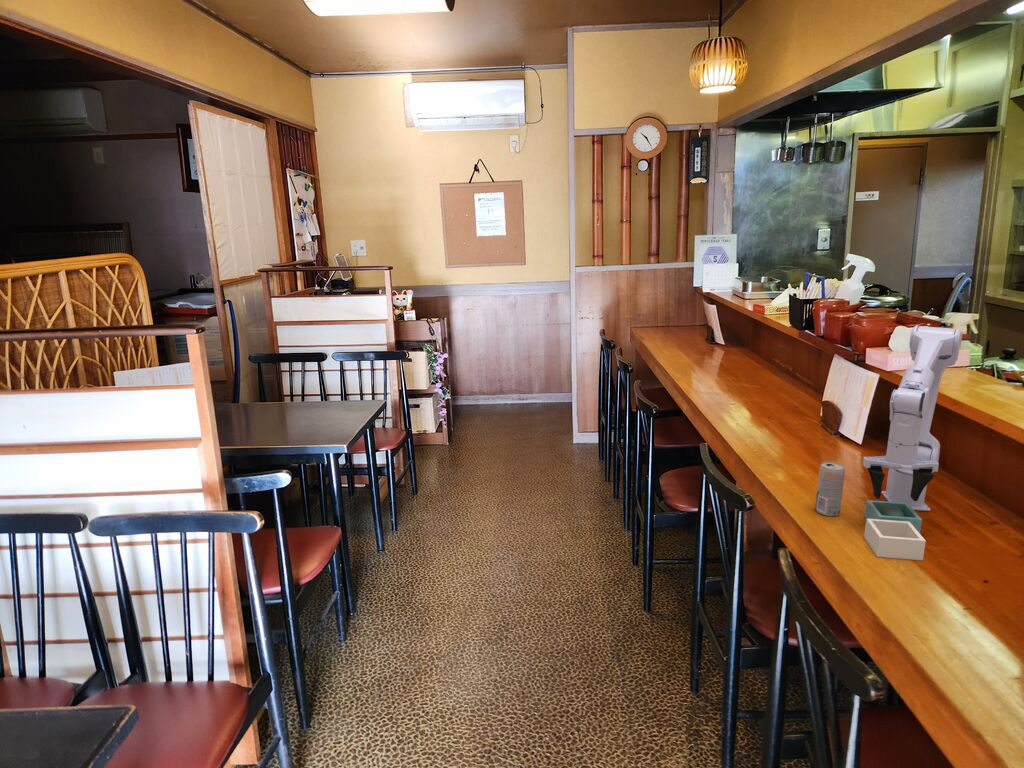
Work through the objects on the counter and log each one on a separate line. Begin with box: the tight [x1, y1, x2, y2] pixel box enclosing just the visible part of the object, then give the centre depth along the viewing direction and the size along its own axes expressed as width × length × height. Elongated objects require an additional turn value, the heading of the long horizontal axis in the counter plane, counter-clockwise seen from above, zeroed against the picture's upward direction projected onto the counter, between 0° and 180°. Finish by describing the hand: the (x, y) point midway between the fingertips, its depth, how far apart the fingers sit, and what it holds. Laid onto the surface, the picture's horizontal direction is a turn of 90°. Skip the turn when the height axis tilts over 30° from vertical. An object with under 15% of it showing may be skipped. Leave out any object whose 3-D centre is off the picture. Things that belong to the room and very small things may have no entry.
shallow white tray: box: [863, 519, 927, 561], centre depth 134 cm, size 9×9×4 cm
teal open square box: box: [864, 499, 923, 534], centre depth 143 cm, size 9×9×4 cm
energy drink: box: [814, 461, 846, 517], centre depth 150 cm, size 5×5×12 cm
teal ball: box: [880, 507, 905, 517], centre depth 142 cm, size 5×5×5 cm
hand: (895, 498), depth 141 cm, fingers open, 7 cm apart
